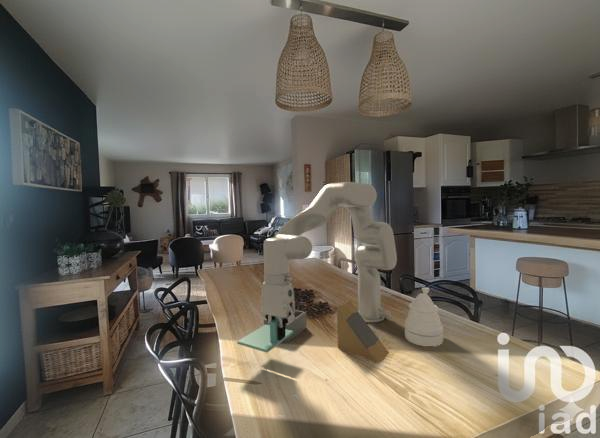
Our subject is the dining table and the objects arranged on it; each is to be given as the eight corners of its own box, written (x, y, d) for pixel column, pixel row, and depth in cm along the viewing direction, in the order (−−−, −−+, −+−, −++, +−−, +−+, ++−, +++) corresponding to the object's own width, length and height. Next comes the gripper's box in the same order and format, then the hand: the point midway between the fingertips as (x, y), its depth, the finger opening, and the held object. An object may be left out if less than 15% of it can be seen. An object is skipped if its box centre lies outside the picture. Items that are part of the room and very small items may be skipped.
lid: (293, 336, 93) (292, 312, 93) (267, 356, 81) (266, 329, 81) (265, 329, 99) (265, 307, 98) (237, 347, 87) (236, 321, 86)
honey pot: (413, 327, 113) (413, 282, 112) (448, 337, 104) (448, 289, 103) (398, 338, 104) (398, 290, 103) (435, 350, 95) (435, 297, 94)
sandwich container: (379, 364, 88) (378, 316, 87) (337, 349, 98) (336, 306, 97) (390, 352, 95) (390, 308, 94) (350, 339, 105) (349, 299, 104)
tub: (306, 329, 114) (306, 312, 113) (288, 343, 102) (287, 324, 102) (284, 324, 119) (283, 307, 119) (264, 337, 107) (264, 319, 107)
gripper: (305, 278, 86) (306, 338, 87) (263, 273, 94) (264, 327, 95) (292, 284, 80) (293, 349, 80) (248, 278, 88) (250, 337, 88)
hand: (277, 337), depth 88 cm, fingers closed on lid
